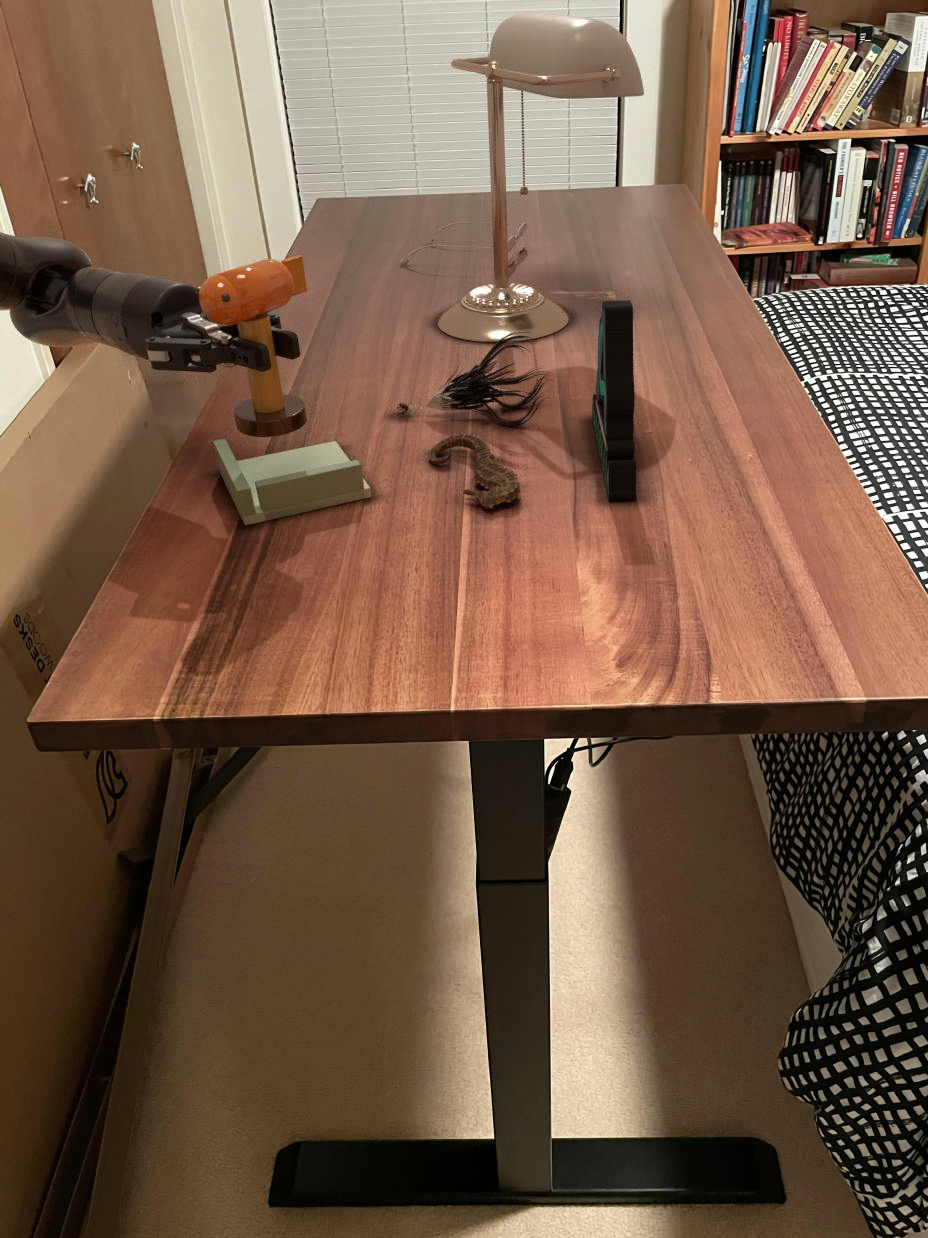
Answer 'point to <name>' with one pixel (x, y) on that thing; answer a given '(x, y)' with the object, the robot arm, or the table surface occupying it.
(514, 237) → the eyeglasses
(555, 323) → the lamp
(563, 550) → the table surface
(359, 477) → the corner tray
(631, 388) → the decorative sign
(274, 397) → the goldfish figurine
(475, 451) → the seahorse
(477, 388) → the feather lure
